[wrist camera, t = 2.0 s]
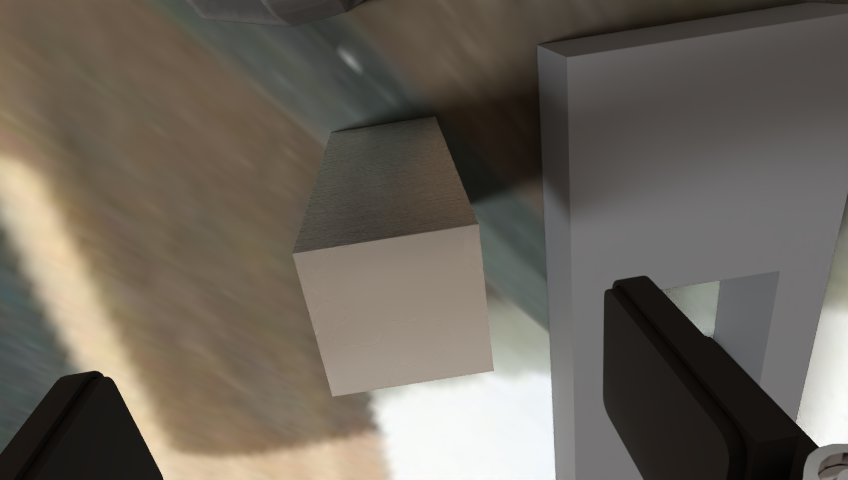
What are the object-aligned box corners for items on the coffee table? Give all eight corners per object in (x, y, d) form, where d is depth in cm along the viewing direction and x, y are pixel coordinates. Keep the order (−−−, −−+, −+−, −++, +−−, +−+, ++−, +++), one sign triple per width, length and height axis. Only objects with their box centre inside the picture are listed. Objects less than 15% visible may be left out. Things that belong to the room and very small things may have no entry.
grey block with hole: (808, 2, 20) (890, 6, 16) (732, 464, 30) (773, 521, 27) (537, 44, 20) (566, 57, 16) (556, 493, 30) (577, 553, 27)
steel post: (435, 116, 20) (478, 224, 11) (447, 211, 22) (493, 370, 13) (330, 132, 20) (292, 254, 11) (351, 227, 22) (332, 396, 13)
